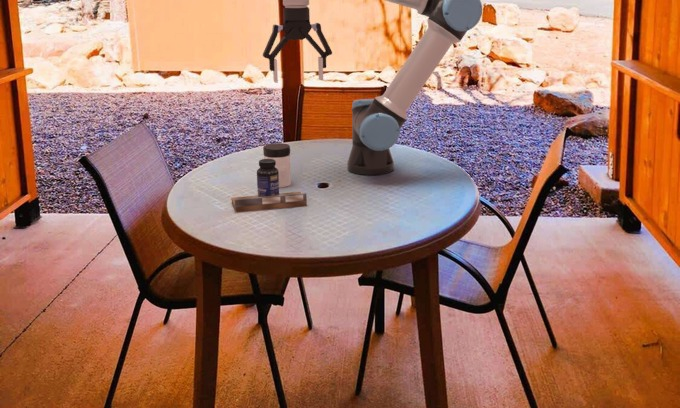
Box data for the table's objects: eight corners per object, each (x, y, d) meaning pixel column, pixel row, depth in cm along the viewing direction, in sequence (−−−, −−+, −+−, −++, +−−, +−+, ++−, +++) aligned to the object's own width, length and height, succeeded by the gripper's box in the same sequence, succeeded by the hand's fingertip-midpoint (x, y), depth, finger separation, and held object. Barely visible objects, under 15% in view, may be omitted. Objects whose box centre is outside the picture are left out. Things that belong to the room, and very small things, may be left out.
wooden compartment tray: (300, 196, 228) (300, 185, 227) (307, 205, 220) (306, 194, 219) (231, 202, 224) (231, 190, 223) (235, 212, 215) (235, 200, 214)
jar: (271, 189, 235) (270, 151, 231) (259, 183, 242) (257, 145, 238) (297, 184, 240) (296, 146, 236) (284, 178, 246) (282, 141, 243)
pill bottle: (274, 202, 218) (272, 164, 215) (254, 200, 220) (252, 162, 217) (282, 196, 224) (281, 158, 221) (263, 194, 226) (261, 157, 222)
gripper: (335, 4, 230) (336, 76, 237) (250, 7, 225) (254, 81, 231) (341, 6, 224) (342, 80, 230) (254, 8, 218) (258, 85, 224)
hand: (298, 80), depth 231 cm, fingers open, 13 cm apart
